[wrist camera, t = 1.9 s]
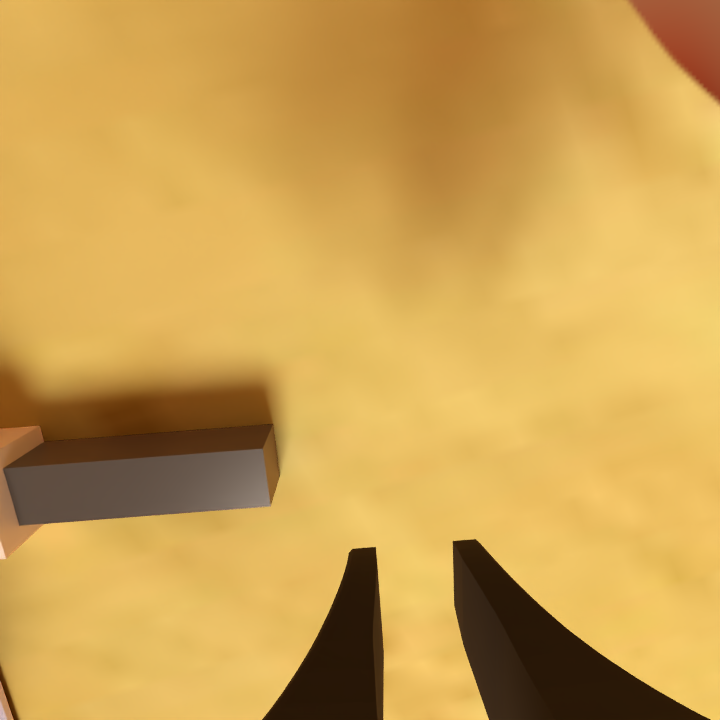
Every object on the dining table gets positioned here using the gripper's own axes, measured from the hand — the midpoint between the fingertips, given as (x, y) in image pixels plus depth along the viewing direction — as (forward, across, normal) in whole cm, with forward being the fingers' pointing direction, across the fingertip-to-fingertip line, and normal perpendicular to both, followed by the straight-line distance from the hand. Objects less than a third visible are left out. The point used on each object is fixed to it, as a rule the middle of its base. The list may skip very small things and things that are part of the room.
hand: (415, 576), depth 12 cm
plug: (+8, +12, 0) cm, 15 cm away
